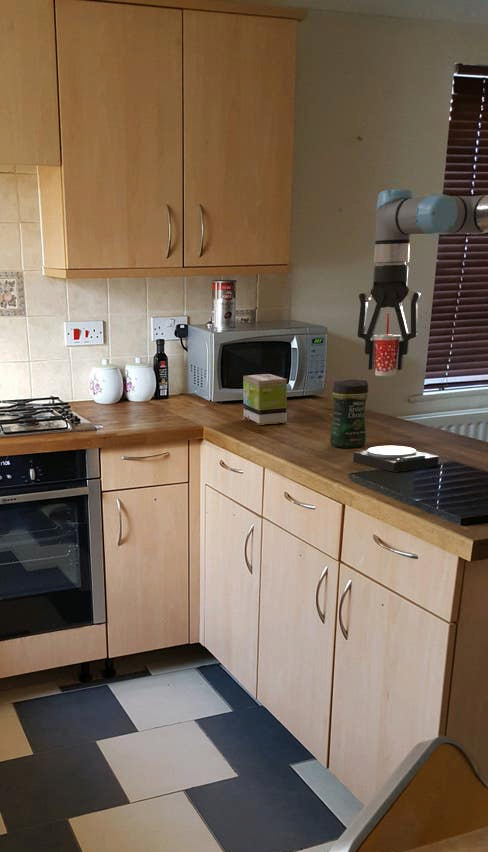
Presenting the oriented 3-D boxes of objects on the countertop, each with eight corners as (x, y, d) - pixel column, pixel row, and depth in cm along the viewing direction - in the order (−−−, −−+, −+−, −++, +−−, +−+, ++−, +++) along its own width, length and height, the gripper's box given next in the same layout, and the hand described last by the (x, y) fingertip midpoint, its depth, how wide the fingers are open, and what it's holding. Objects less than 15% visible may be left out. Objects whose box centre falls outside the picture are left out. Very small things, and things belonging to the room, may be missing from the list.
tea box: (242, 419, 296) (242, 375, 291) (270, 417, 299) (270, 373, 294) (258, 426, 282) (258, 379, 278) (287, 424, 285) (288, 377, 280)
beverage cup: (377, 373, 209) (380, 312, 205) (402, 374, 206) (406, 312, 201) (367, 375, 205) (370, 313, 200) (393, 376, 201) (396, 313, 197)
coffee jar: (339, 449, 243) (341, 381, 237) (326, 444, 250) (328, 378, 244) (370, 446, 245) (373, 379, 239) (356, 442, 252) (359, 376, 246)
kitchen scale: (438, 466, 219) (439, 453, 218) (393, 472, 214) (394, 459, 213) (395, 455, 233) (396, 443, 232) (353, 461, 227) (353, 449, 226)
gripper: (436, 263, 197) (429, 368, 205) (352, 265, 204) (348, 366, 212) (432, 263, 190) (425, 371, 198) (345, 265, 198) (341, 370, 205)
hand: (385, 368), depth 205 cm, fingers closed on beverage cup, 6 cm apart
